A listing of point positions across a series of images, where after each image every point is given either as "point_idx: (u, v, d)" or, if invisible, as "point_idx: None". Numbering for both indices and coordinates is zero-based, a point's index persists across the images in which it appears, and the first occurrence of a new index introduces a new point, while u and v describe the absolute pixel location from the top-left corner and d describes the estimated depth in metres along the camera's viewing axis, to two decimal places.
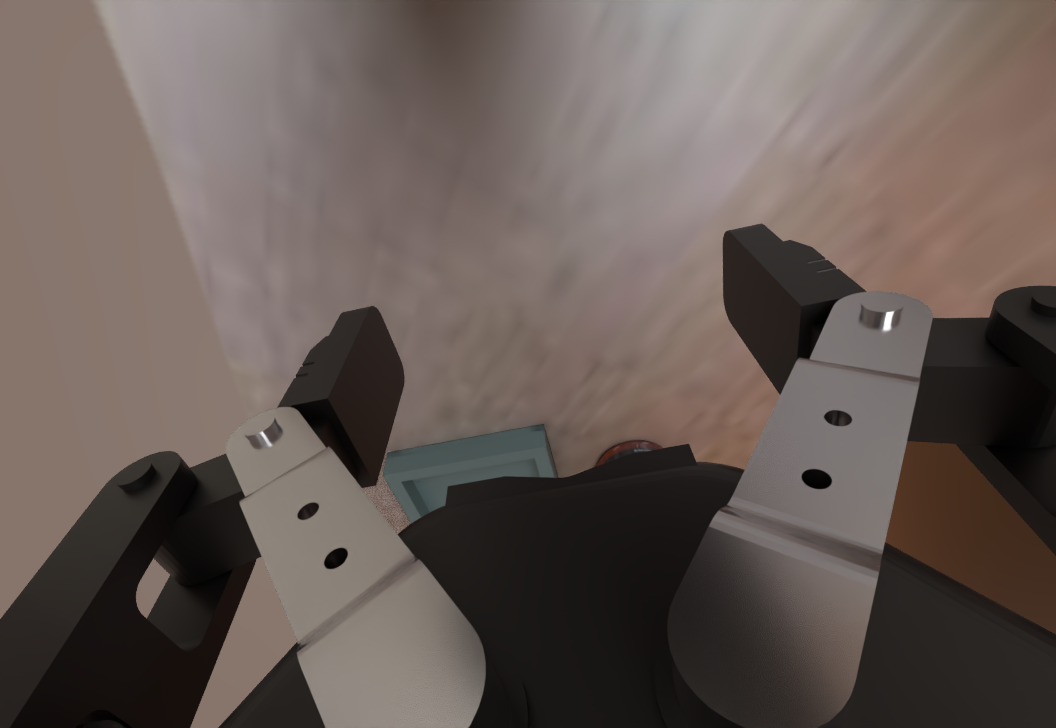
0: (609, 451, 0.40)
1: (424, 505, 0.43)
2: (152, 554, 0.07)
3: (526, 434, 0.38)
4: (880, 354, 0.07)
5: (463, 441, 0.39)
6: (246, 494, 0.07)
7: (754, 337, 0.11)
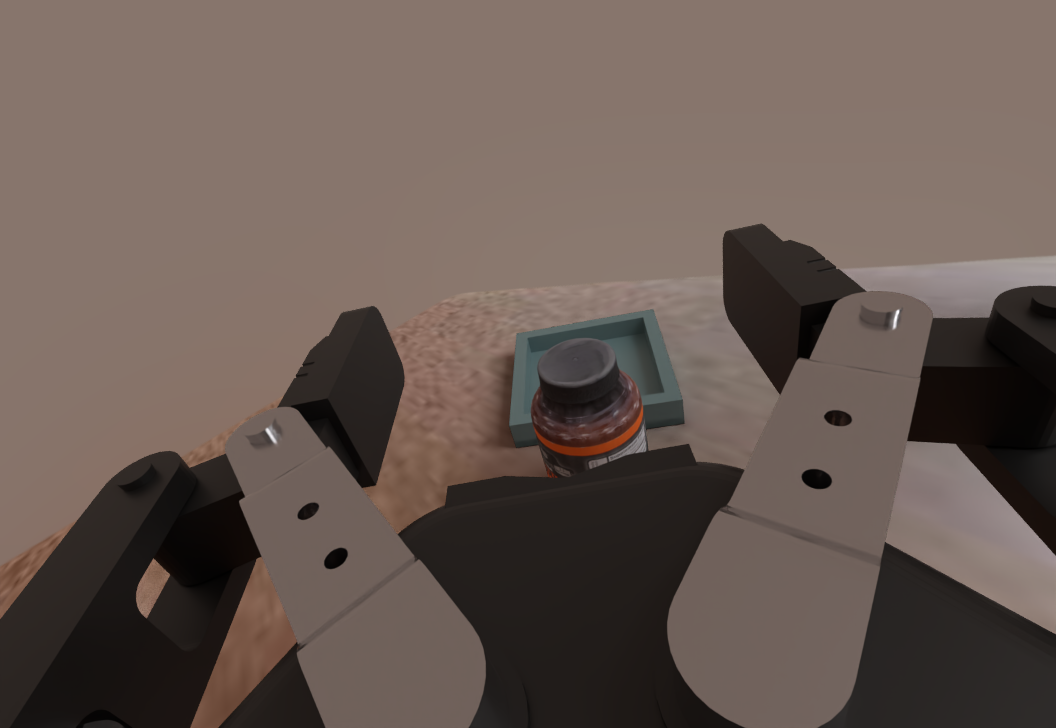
0: None
1: None
2: (152, 554, 0.07)
3: None
4: (880, 354, 0.07)
5: None
6: (246, 494, 0.07)
7: (754, 337, 0.11)
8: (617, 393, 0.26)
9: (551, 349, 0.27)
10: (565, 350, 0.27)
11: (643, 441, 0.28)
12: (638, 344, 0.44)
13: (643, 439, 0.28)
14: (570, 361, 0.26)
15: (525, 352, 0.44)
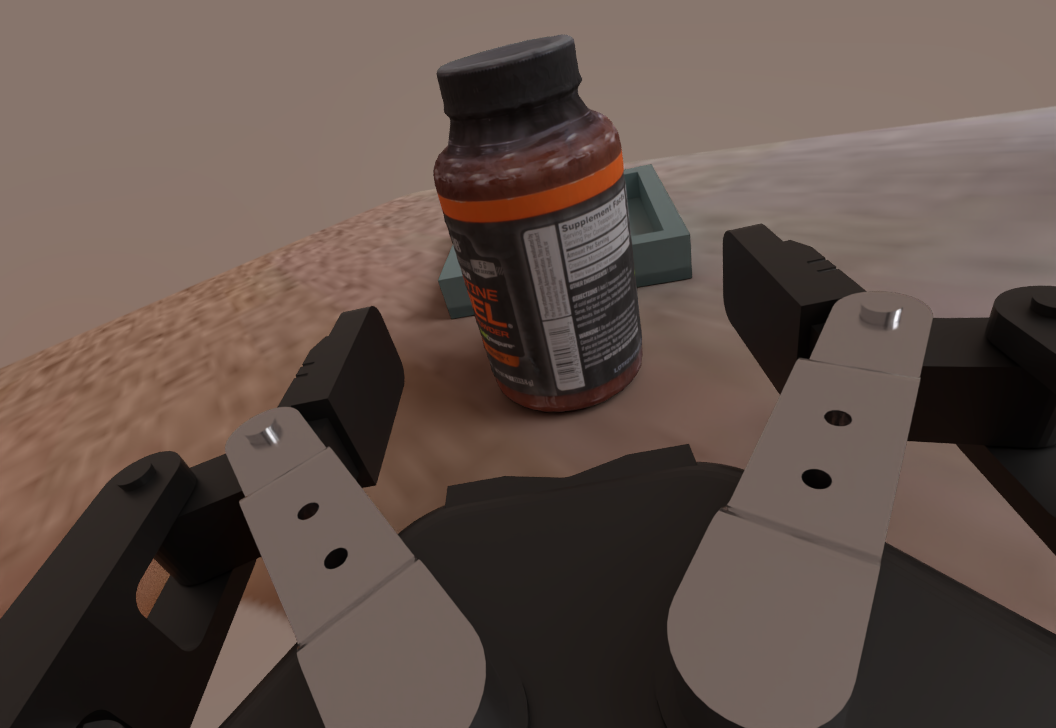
0: None
1: None
2: (152, 554, 0.07)
3: None
4: (880, 354, 0.07)
5: None
6: (246, 494, 0.07)
7: (754, 337, 0.11)
8: (575, 109, 0.15)
9: None
10: (490, 51, 0.16)
11: (624, 223, 0.16)
12: (630, 206, 0.33)
13: (623, 218, 0.16)
14: (494, 52, 0.15)
15: None
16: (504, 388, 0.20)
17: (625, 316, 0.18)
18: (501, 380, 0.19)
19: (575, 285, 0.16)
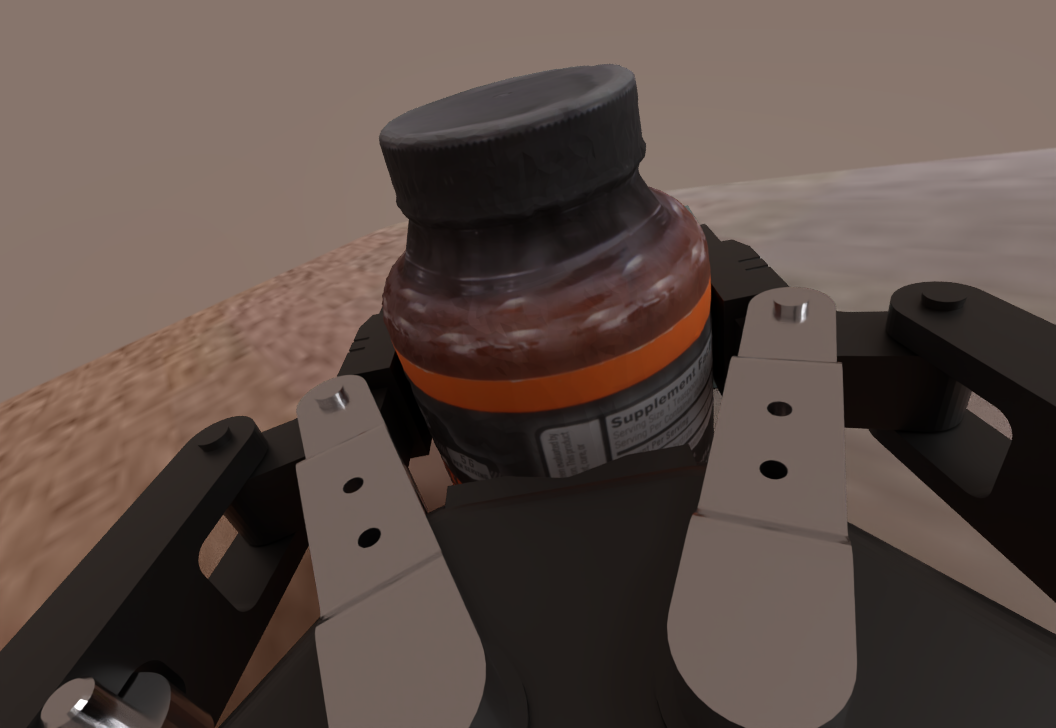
0: None
1: None
2: (218, 517, 0.08)
3: None
4: (799, 345, 0.07)
5: None
6: (307, 456, 0.08)
7: None
8: (638, 204, 0.08)
9: None
10: (478, 92, 0.09)
11: (710, 382, 0.10)
12: None
13: (709, 376, 0.10)
14: (486, 100, 0.08)
15: None
16: None
17: None
18: None
19: None
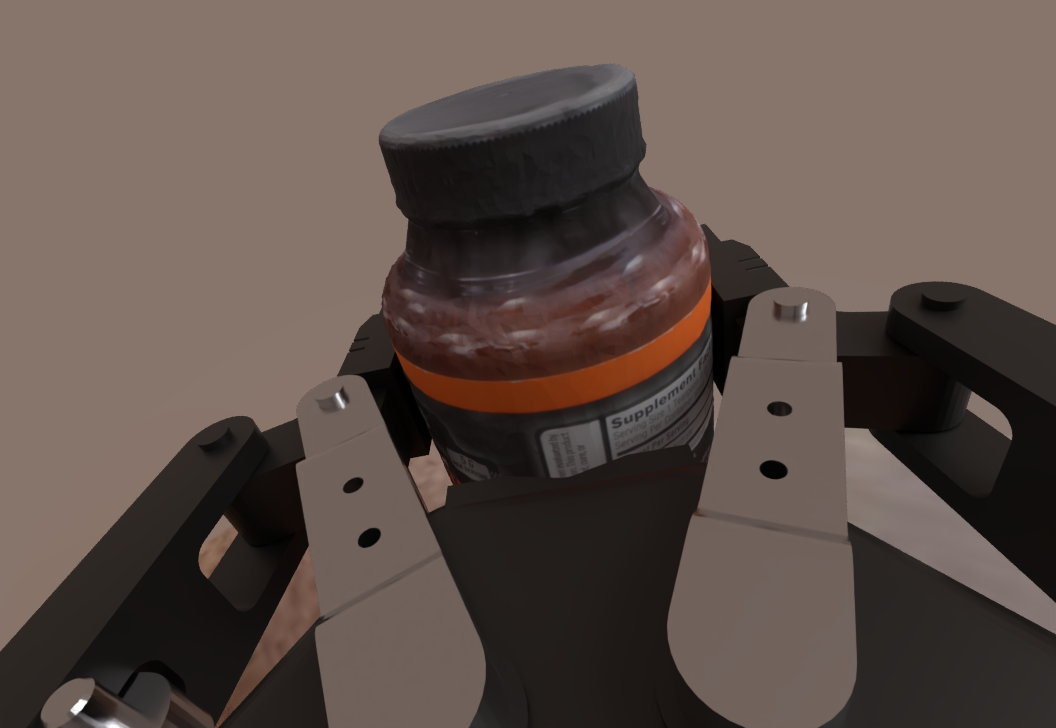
0: None
1: None
2: (218, 517, 0.08)
3: None
4: (799, 345, 0.07)
5: None
6: (307, 456, 0.08)
7: None
8: (638, 204, 0.08)
9: (440, 99, 0.09)
10: (478, 92, 0.09)
11: (710, 383, 0.10)
12: None
13: (709, 377, 0.10)
14: (485, 100, 0.08)
15: None
16: None
17: None
18: None
19: None
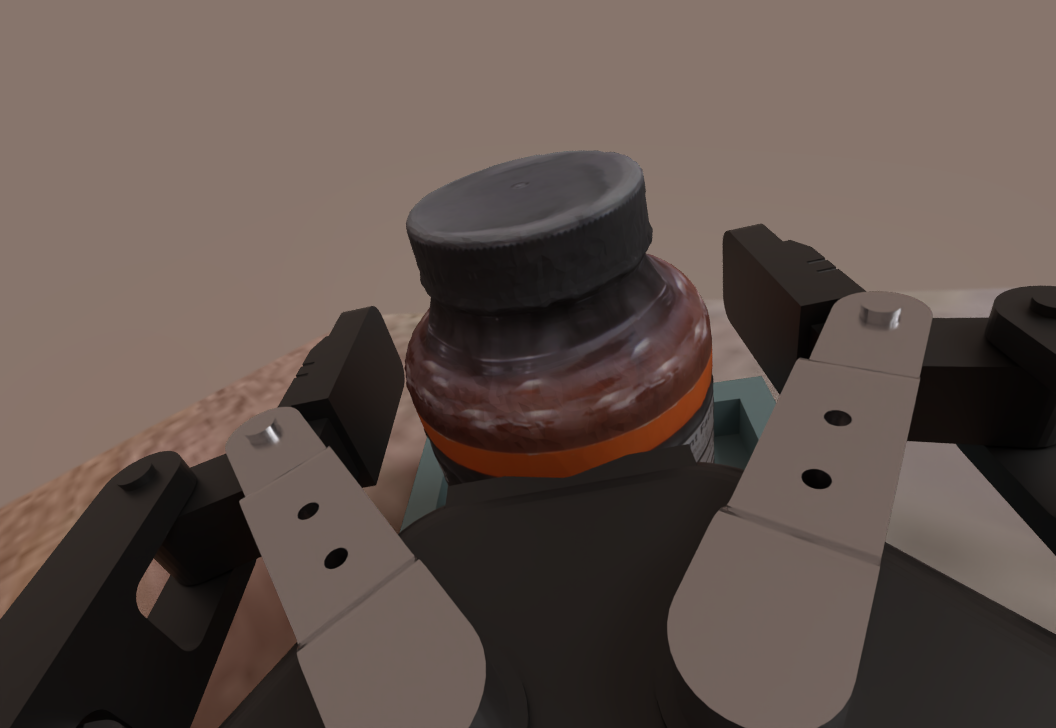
0: None
1: None
2: (152, 554, 0.07)
3: None
4: (880, 354, 0.07)
5: None
6: (246, 494, 0.07)
7: (754, 337, 0.11)
8: (645, 288, 0.09)
9: (460, 179, 0.10)
10: (496, 175, 0.09)
11: (711, 441, 0.10)
12: None
13: (710, 436, 0.10)
14: (504, 190, 0.09)
15: (438, 484, 0.17)
16: None
17: None
18: None
19: None
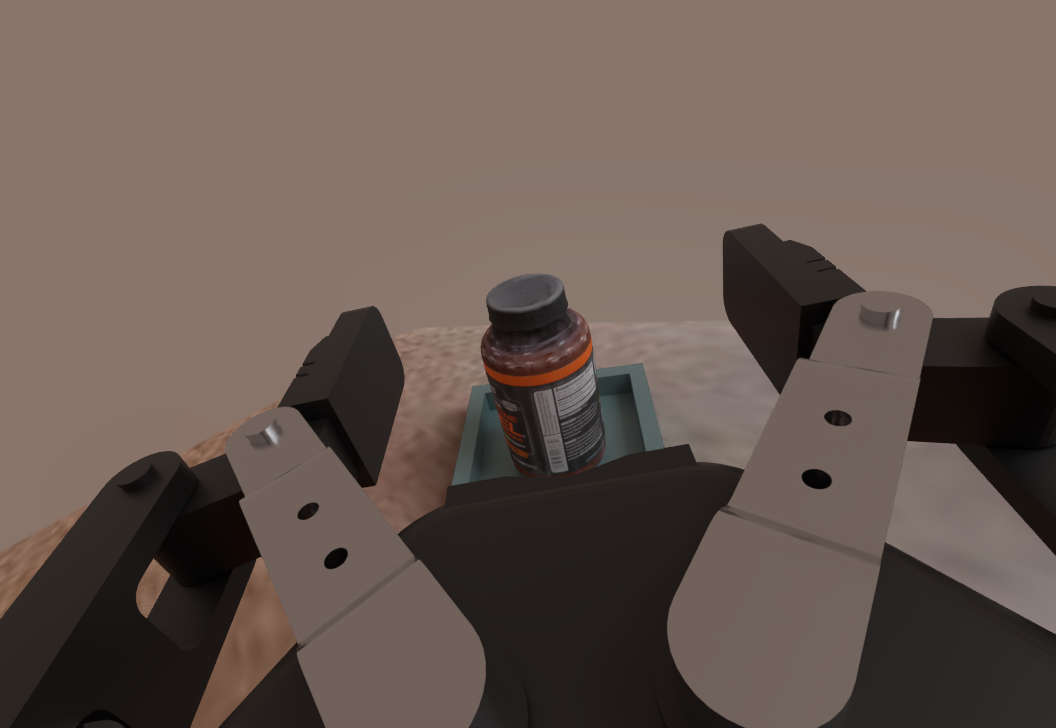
0: None
1: None
2: (152, 554, 0.07)
3: None
4: (880, 355, 0.07)
5: None
6: (246, 494, 0.07)
7: (754, 337, 0.11)
8: (564, 324, 0.26)
9: (502, 283, 0.28)
10: (515, 283, 0.27)
11: (592, 379, 0.28)
12: (622, 407, 0.35)
13: (591, 377, 0.28)
14: (518, 291, 0.26)
15: (479, 413, 0.35)
16: (517, 467, 0.31)
17: (592, 429, 0.29)
18: (516, 462, 0.31)
19: (563, 417, 0.27)
